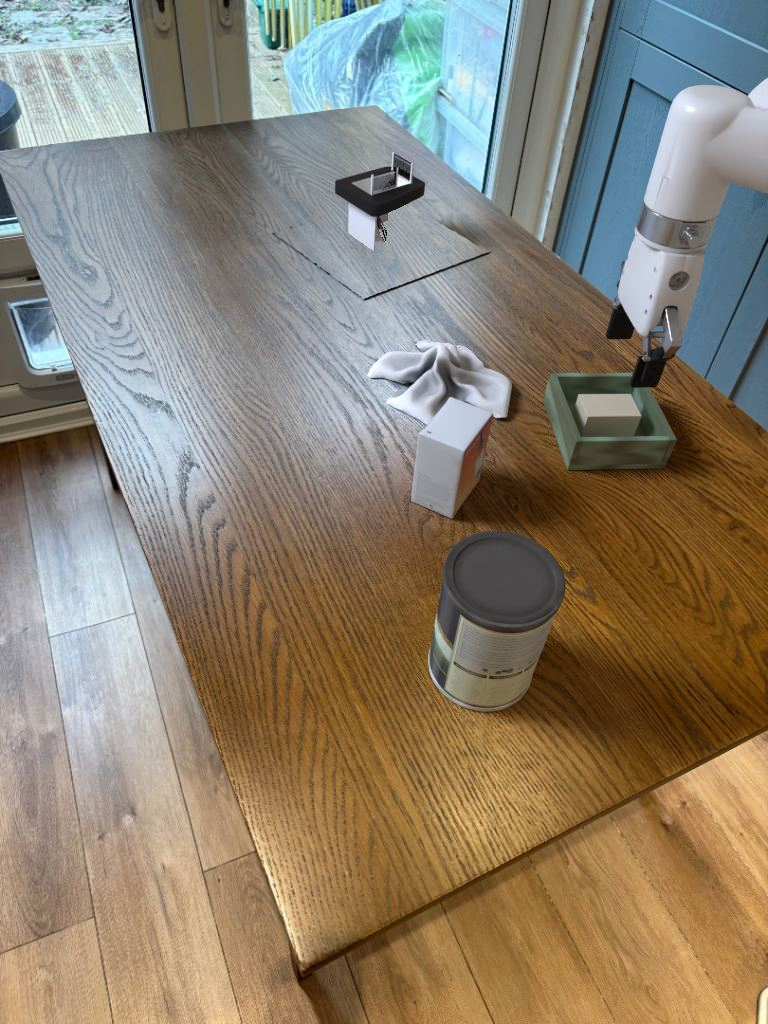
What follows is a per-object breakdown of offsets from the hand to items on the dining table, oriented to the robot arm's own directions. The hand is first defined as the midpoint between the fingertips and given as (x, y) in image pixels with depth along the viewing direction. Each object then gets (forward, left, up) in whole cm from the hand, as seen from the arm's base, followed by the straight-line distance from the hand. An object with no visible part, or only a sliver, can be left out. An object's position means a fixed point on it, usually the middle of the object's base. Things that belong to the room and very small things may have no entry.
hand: (630, 361), depth 90 cm
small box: (+22, +10, -12) cm, 27 cm away
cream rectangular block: (+1, 0, -11) cm, 11 cm away
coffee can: (+22, +34, -12) cm, 42 cm away
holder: (0, 0, -12) cm, 12 cm away
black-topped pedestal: (+25, -51, -12) cm, 58 cm away
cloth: (+20, -12, -12) cm, 26 cm away
